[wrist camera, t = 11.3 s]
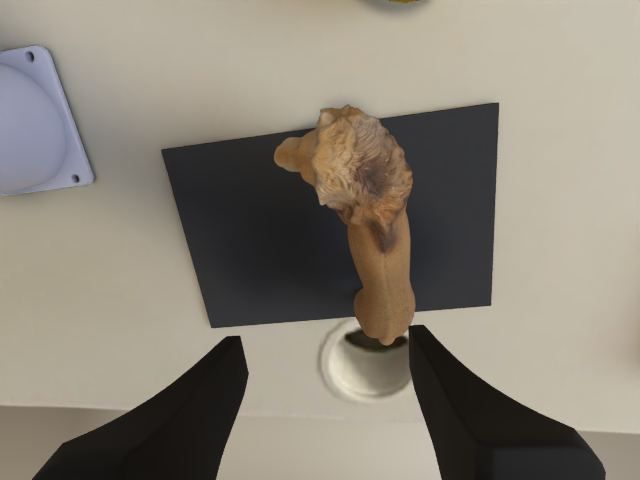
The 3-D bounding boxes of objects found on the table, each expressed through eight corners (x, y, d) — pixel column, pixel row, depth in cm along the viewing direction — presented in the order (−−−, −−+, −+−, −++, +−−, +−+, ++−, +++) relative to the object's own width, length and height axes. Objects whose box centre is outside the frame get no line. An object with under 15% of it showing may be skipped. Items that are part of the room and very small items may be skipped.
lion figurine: (287, 127, 20) (247, 135, 12) (374, 92, 19) (400, 73, 11) (365, 329, 24) (377, 441, 16) (439, 308, 23) (493, 416, 15)
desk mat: (213, 325, 26) (211, 328, 25) (163, 149, 21) (160, 149, 21) (489, 302, 23) (491, 305, 23) (496, 102, 19) (499, 102, 19)
